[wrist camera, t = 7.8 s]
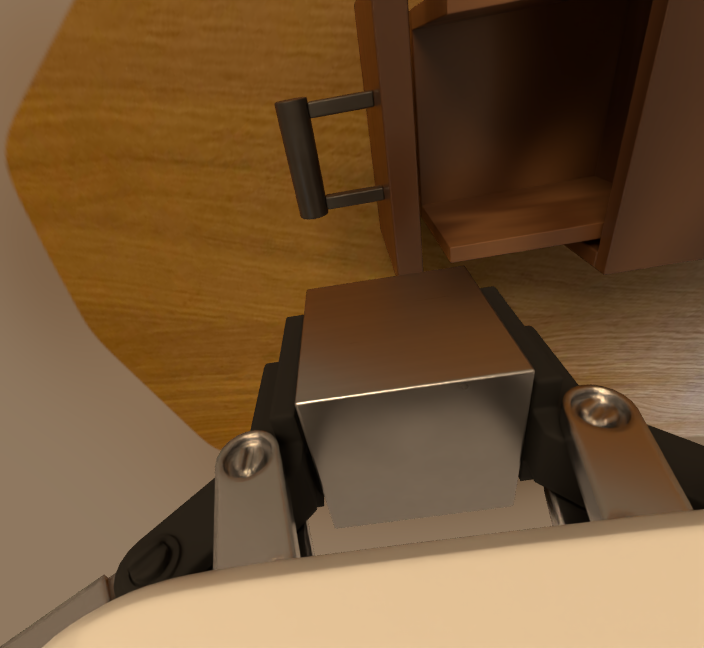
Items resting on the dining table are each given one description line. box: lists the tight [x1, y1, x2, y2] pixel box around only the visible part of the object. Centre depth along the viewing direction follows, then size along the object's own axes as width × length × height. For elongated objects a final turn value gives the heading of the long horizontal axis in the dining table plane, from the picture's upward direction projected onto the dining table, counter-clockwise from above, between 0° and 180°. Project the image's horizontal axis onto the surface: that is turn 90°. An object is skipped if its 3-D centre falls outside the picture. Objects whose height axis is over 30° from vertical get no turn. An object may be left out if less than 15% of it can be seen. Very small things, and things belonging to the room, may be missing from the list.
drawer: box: [274, 0, 653, 276], centre depth 18 cm, size 18×11×8 cm, turn 99°
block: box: [295, 266, 535, 528], centre depth 10 cm, size 4×4×4 cm
